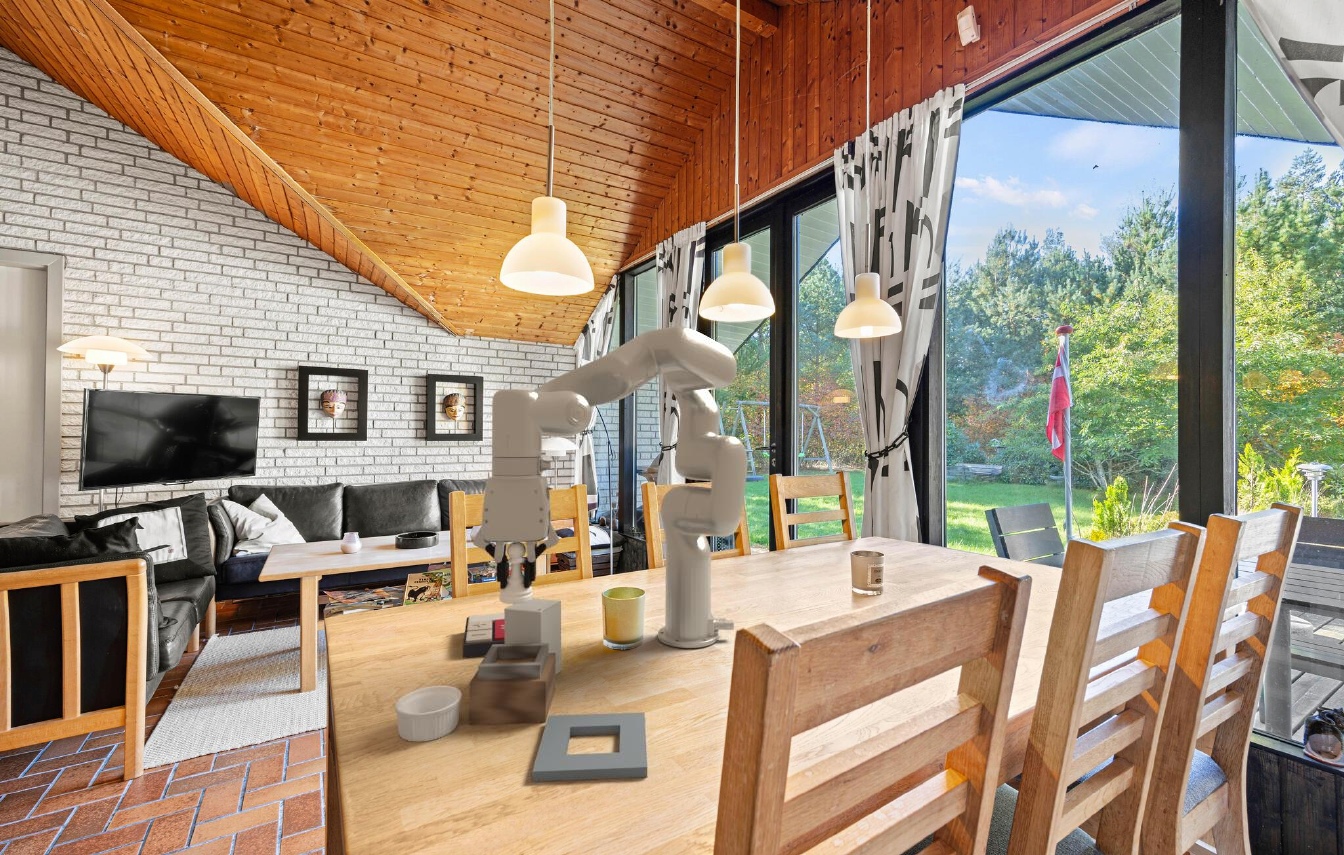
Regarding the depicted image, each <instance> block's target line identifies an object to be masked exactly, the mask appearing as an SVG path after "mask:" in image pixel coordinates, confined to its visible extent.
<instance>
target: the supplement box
mask: <svg viewBox="0 0 1344 855" xmlns="http://www.w3.org/2000/svg"><path fill="white" fill-rule="evenodd" d="M503 610H504V612H503V613H504V614H505V644H529V643H549V653H556V658H555V676H557V675H558V674H559V673H561V671H562V601H561V600H555V599H545V598H535V597H533V598H532V599H531V600H530V601H528V602H525V603H519V604H510V605H509V606H507V607H505V608H504V609H503Z"/></svg>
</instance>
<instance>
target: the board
mask: <svg viewBox="0 0 1344 855" xmlns="http://www.w3.org/2000/svg"><path fill="white" fill-rule="evenodd" d="M645 719H646V718H645V712H641V711H640V712H619V713H618V712H615V713H611V712H610V713H585V714H584V713H583V714H557V715H556V714H555V715H554V714H553V715H552V714H551V715H549V714H548V716H547V719H546V722H545V723H546V724H545V727H544V731H543V734H542V737H541V741H540V744H539V747H538V752H537V754H536V758H535V761H534V764H533V769H532V771H531V773H532V774H531V775H532V777H531V778H532V779H531V781H532V782H551V781H552V782H554V781H557V782H558V781H577V780H601V779H602V780H603V779H604V780H605V779H607V780H608V779H627V778H631V779H632V778H648V757H647V756H648V753H647V737H646V736H647V735H646V720H645ZM617 734H618V735H619V752H595V753H575V754H574V753H573V754H571V753H568V749H569V744H570V738H571V736H590V735H592V736H595V735H596V736H597V735H617ZM567 753H568V754H567Z"/></svg>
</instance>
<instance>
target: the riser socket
mask: <svg viewBox="0 0 1344 855" xmlns="http://www.w3.org/2000/svg"><path fill="white" fill-rule="evenodd" d="M555 658H556V653H549V643H529V644H493V645H492V646H491V648H490V649H489V651H488V653H487V654H486V656H483V658H482V660H481V662H480V664H478V668H477V671H476V672H475V674H474V676H473V677H472V679H471V680H470V682H469V685H468V688H469V690H468V691H469V692H468V693H469V694H468V695H469V696H468V704H469V705H468V725H469V726H471V725H472V726H474V725H476V726H477V725H499V724H500V725H501V724H503V725H505V724H528V723H529V724H531V723H533V724H534V723H547V719H548V716H549V712H550V708H551V706H552V702H553V698H554V694H555V691H556V675H555Z"/></svg>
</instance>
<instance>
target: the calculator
mask: <svg viewBox="0 0 1344 855" xmlns="http://www.w3.org/2000/svg"><path fill="white" fill-rule="evenodd" d="M493 644H505V614H504V612H501V613H489V614H479V615H478V614H477V615H476V614H475V615H469V616H468V617H466V621H465V629H464V635H463V642H462V657H463V659H469V658H470V659H471V658H477V657H485V656H486V654H487V653H488V651H489V649H490V648H491V646H492V645H493Z"/></svg>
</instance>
